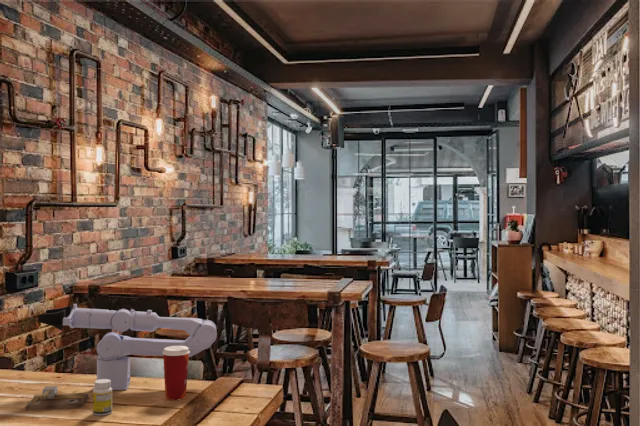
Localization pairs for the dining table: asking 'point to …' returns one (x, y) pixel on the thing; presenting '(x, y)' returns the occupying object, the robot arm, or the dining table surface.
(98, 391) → the supplement bottle
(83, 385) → the dining table surface
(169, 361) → the paper cup
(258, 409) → the dining table surface
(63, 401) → the wooden mechanism board
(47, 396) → the sliding leg
